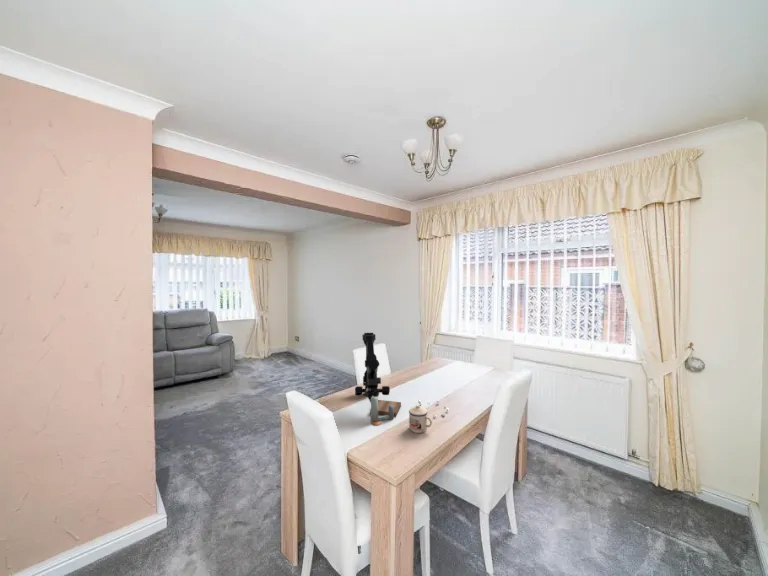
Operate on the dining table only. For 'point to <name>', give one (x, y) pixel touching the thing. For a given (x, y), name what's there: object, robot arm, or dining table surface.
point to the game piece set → (437, 404)
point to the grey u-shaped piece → (375, 411)
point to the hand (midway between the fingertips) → (372, 406)
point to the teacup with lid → (418, 419)
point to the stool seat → (386, 409)
